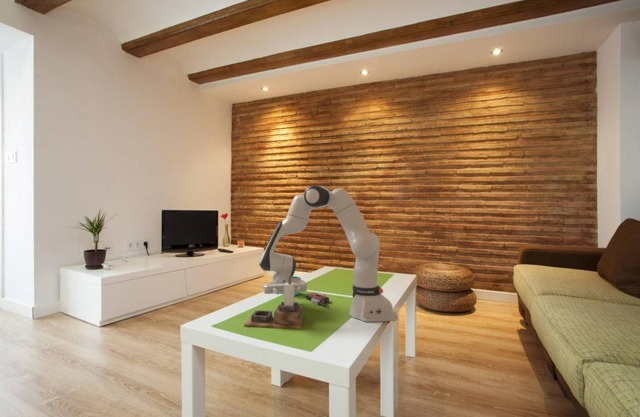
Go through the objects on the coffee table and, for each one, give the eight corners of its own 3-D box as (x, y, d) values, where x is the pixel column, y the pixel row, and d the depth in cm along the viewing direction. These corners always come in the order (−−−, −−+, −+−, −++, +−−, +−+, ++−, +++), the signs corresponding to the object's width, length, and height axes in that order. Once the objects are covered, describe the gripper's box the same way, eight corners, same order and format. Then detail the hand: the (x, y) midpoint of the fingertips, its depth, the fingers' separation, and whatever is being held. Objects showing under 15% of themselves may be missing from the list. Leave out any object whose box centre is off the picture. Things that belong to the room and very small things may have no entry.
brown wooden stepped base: (304, 317, 145) (304, 300, 145) (300, 329, 132) (300, 309, 132) (252, 315, 147) (252, 298, 147) (244, 326, 134) (244, 307, 134)
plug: (294, 307, 141) (295, 273, 141) (292, 311, 136) (293, 275, 136) (285, 307, 141) (286, 273, 141) (283, 310, 137) (284, 275, 137)
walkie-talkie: (302, 300, 173) (327, 309, 159) (302, 292, 173) (327, 300, 159) (314, 297, 179) (339, 306, 165) (314, 289, 179) (340, 297, 165)
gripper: (261, 278, 153) (264, 286, 140) (303, 276, 159) (309, 283, 145) (261, 292, 153) (264, 300, 140) (302, 289, 159) (309, 297, 146)
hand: (288, 291), depth 143 cm, fingers open, 8 cm apart
